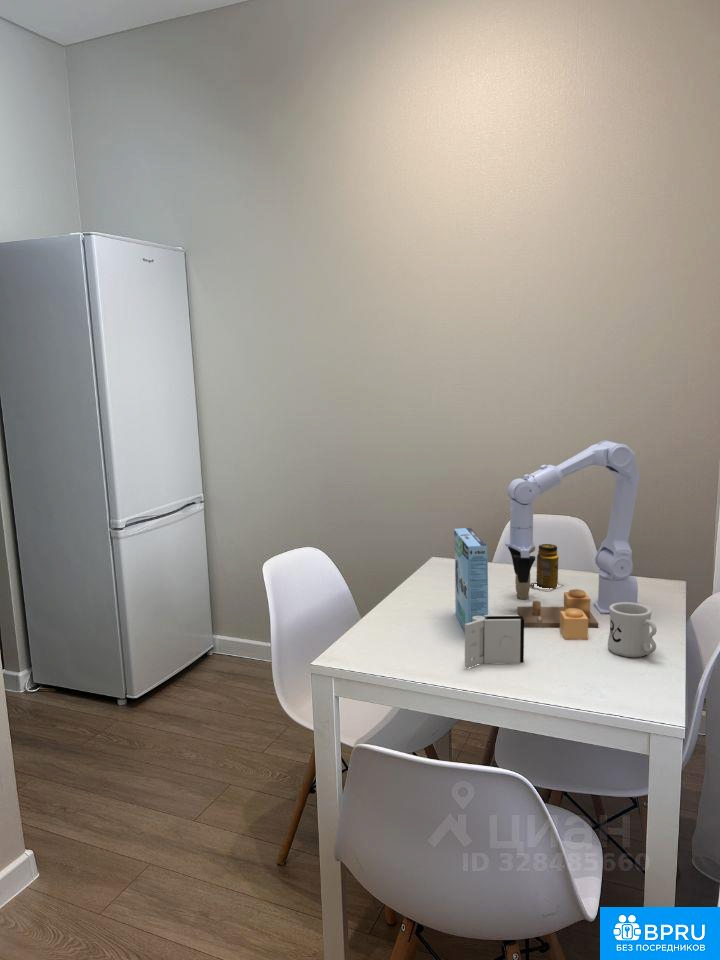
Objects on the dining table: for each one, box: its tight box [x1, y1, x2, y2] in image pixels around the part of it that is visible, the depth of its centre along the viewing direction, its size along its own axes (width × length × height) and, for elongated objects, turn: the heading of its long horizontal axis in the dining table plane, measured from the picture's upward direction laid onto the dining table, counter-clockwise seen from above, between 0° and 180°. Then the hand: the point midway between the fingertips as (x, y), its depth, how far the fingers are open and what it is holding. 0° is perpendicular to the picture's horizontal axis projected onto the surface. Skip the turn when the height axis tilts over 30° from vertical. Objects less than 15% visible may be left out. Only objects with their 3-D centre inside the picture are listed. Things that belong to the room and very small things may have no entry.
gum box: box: [453, 527, 489, 632], centre depth 184 cm, size 20×5×23 cm, turn 2°
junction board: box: [516, 588, 599, 629], centre depth 189 cm, size 18×12×7 cm, turn 86°
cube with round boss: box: [559, 608, 589, 640], centre depth 178 cm, size 5×5×6 cm
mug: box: [607, 602, 658, 658], centre depth 166 cm, size 12×9×10 cm
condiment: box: [530, 543, 563, 592], centre depth 216 cm, size 7×8×12 cm
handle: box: [515, 544, 536, 600], centre depth 205 cm, size 5×6×15 cm
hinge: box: [464, 614, 525, 668], centre depth 163 cm, size 14×5×10 cm, turn 101°
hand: (521, 577), depth 191 cm, fingers open, 7 cm apart
